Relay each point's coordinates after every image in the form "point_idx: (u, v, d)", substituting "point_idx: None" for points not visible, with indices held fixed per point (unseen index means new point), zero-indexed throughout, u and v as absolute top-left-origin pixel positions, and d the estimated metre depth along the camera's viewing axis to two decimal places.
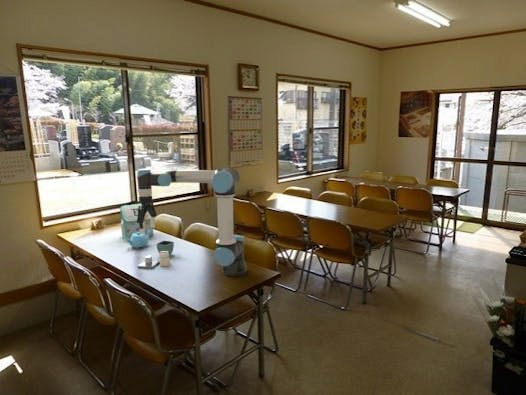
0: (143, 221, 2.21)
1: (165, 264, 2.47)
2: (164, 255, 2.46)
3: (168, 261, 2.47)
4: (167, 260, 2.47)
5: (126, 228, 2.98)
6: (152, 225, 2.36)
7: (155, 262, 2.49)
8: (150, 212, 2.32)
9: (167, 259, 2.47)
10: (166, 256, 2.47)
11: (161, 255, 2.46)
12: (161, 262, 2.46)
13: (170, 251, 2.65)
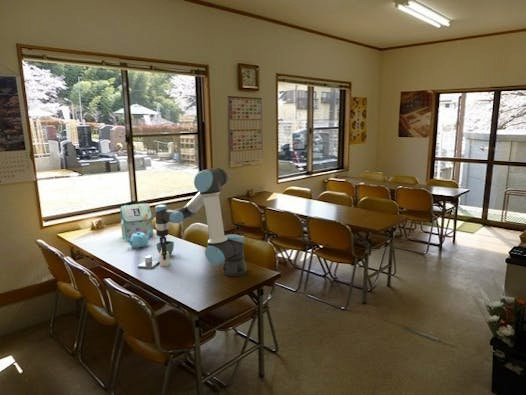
0: None
1: None
2: None
3: (168, 261, 2.47)
4: (167, 260, 2.47)
5: (126, 228, 2.98)
6: None
7: (155, 262, 2.49)
8: None
9: (167, 259, 2.47)
10: None
11: (161, 255, 2.46)
12: (161, 262, 2.46)
13: (170, 251, 2.65)
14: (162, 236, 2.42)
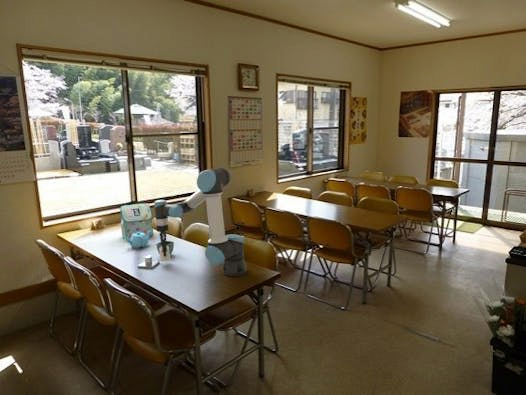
0: None
1: None
2: None
3: (168, 256, 2.46)
4: (167, 255, 2.46)
5: (126, 228, 2.98)
6: None
7: (155, 262, 2.49)
8: None
9: (167, 254, 2.46)
10: None
11: (161, 250, 2.45)
12: (161, 257, 2.45)
13: (170, 251, 2.65)
14: (162, 231, 2.42)
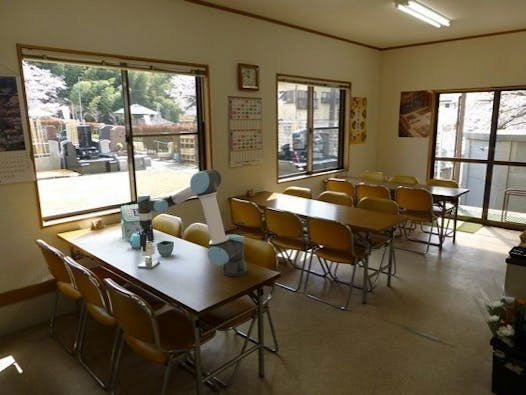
0: None
1: None
2: None
3: (148, 252, 2.42)
4: (147, 251, 2.42)
5: (126, 228, 2.98)
6: None
7: (155, 262, 2.49)
8: (149, 236, 2.47)
9: (147, 249, 2.42)
10: (147, 246, 2.42)
11: None
12: (142, 251, 2.44)
13: (170, 251, 2.65)
14: (142, 226, 2.39)
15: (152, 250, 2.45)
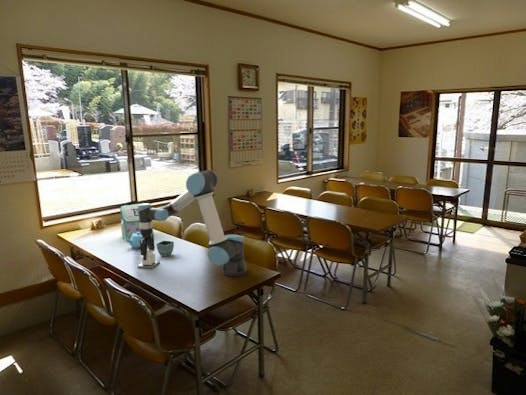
0: (146, 253, 2.42)
1: None
2: None
3: (149, 260, 2.44)
4: (148, 259, 2.44)
5: (126, 228, 2.98)
6: None
7: (155, 262, 2.49)
8: (149, 245, 2.48)
9: (148, 258, 2.44)
10: None
11: None
12: (142, 260, 2.45)
13: (170, 251, 2.65)
14: (143, 235, 2.40)
15: (152, 258, 2.46)
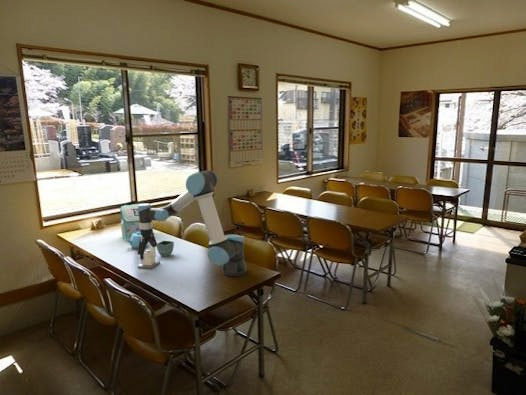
0: (143, 252, 2.39)
1: (147, 264, 2.45)
2: (145, 254, 2.43)
3: (149, 261, 2.44)
4: (148, 260, 2.44)
5: (126, 228, 2.98)
6: (153, 254, 2.53)
7: (155, 262, 2.49)
8: (151, 243, 2.50)
9: (148, 259, 2.44)
10: (148, 255, 2.44)
11: None
12: None
13: (170, 251, 2.65)
14: (143, 235, 2.40)
15: (152, 259, 2.46)
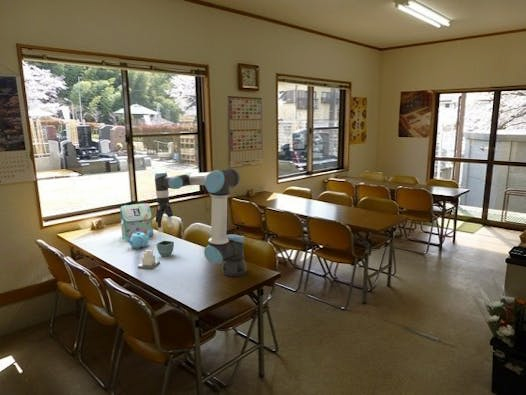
0: (161, 220, 2.39)
1: (147, 264, 2.45)
2: (145, 254, 2.43)
3: (149, 261, 2.44)
4: (148, 260, 2.44)
5: (126, 228, 2.98)
6: (169, 224, 2.53)
7: (155, 262, 2.49)
8: (167, 212, 2.50)
9: (148, 259, 2.44)
10: (148, 255, 2.44)
11: (143, 254, 2.44)
12: (143, 260, 2.45)
13: (170, 251, 2.65)
14: (160, 203, 2.40)
15: (152, 259, 2.46)
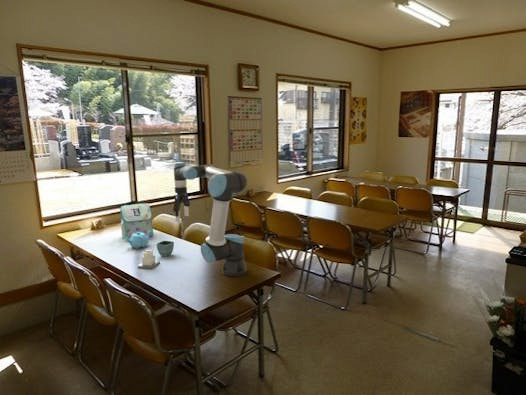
0: None
1: (147, 264, 2.45)
2: (145, 254, 2.43)
3: (149, 261, 2.44)
4: (148, 260, 2.44)
5: (126, 228, 2.98)
6: (186, 214, 2.56)
7: (155, 262, 2.49)
8: (184, 202, 2.53)
9: (148, 259, 2.44)
10: (148, 255, 2.44)
11: (143, 254, 2.44)
12: (143, 260, 2.45)
13: (170, 251, 2.65)
14: (178, 193, 2.44)
15: (152, 259, 2.46)
